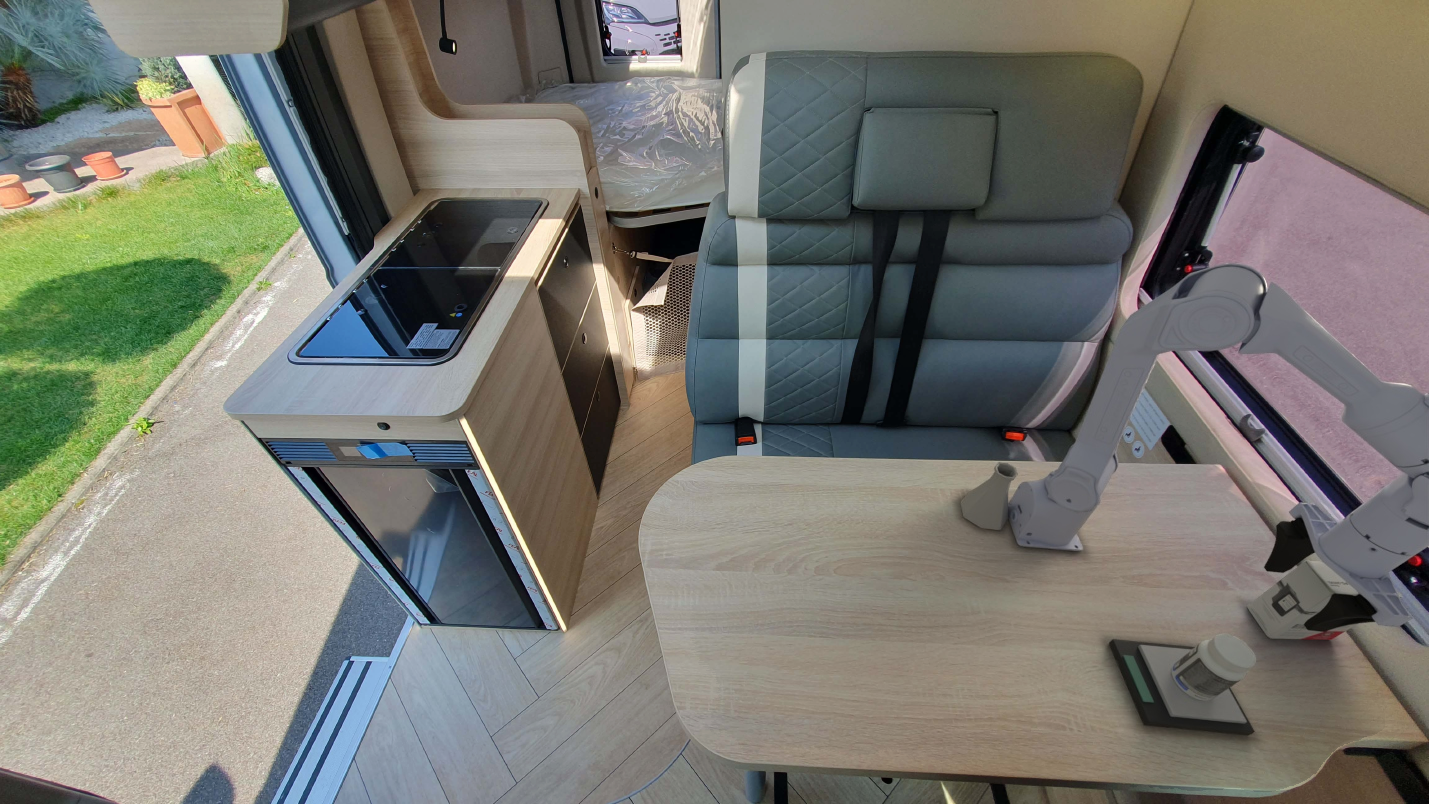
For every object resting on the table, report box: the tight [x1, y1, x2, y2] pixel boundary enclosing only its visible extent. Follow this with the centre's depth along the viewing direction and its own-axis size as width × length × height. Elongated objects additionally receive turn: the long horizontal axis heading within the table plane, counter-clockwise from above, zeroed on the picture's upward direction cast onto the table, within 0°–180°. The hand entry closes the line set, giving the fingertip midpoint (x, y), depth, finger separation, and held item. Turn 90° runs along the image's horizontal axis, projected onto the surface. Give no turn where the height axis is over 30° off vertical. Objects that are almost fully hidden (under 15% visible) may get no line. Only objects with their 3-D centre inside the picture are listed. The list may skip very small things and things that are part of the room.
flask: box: [960, 461, 1019, 531], centre depth 88 cm, size 7×7×10 cm
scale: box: [1108, 638, 1256, 736], centre depth 71 cm, size 12×10×2 cm
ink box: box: [1246, 560, 1403, 641], centre depth 74 cm, size 9×5×12 cm, turn 88°
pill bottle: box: [1172, 633, 1257, 701], centre depth 68 cm, size 5×5×8 cm
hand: (1292, 597), depth 70 cm, fingers open, 7 cm apart
